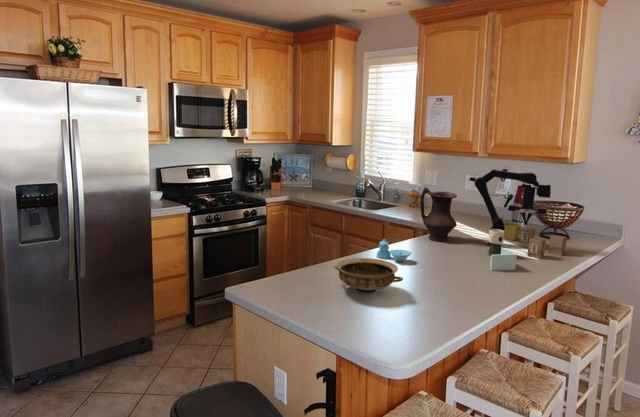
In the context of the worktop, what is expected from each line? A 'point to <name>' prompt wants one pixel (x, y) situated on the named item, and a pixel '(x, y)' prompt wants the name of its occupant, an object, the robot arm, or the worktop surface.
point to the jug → (438, 215)
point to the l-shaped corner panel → (503, 261)
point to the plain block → (557, 245)
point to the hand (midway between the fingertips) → (525, 225)
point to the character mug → (495, 241)
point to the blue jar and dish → (391, 252)
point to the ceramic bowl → (367, 274)
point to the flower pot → (511, 231)
